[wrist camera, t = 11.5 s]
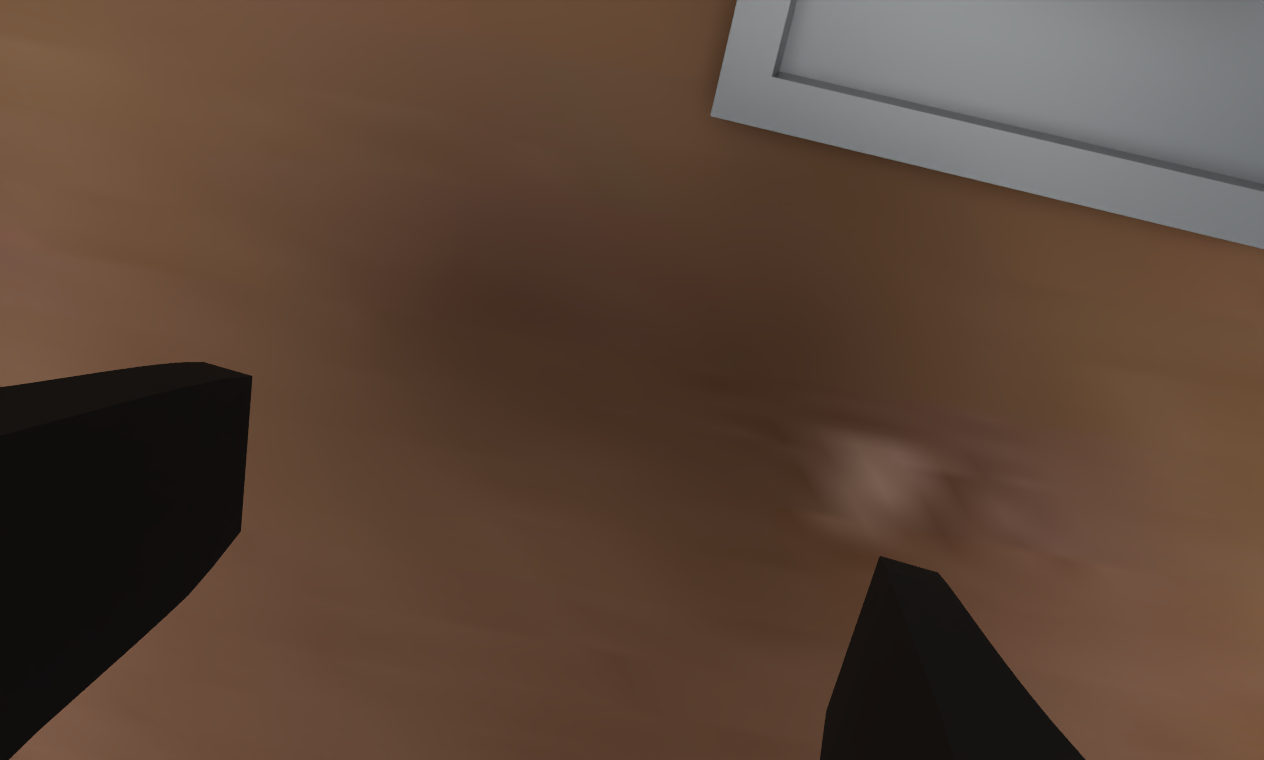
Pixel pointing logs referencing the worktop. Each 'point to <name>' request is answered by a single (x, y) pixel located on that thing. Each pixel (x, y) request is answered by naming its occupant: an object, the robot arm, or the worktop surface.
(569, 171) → the worktop surface
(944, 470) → the worktop surface
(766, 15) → the tray
